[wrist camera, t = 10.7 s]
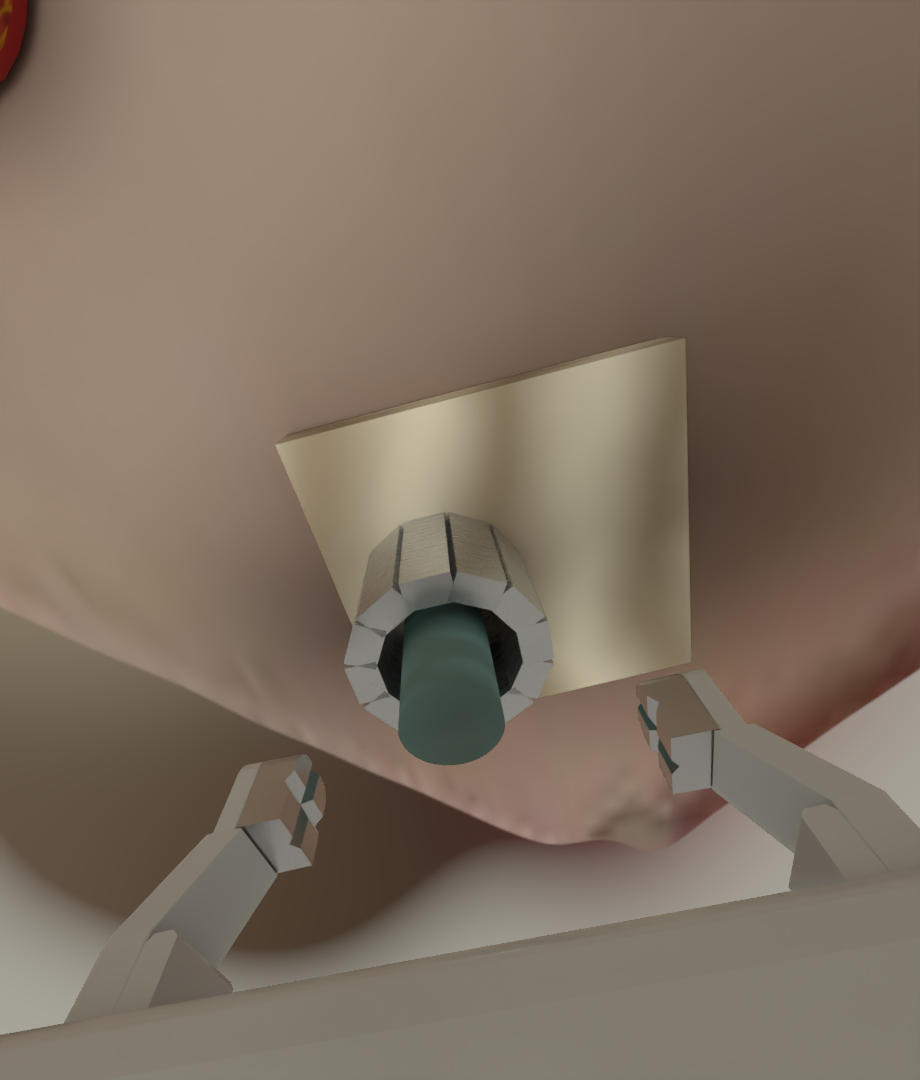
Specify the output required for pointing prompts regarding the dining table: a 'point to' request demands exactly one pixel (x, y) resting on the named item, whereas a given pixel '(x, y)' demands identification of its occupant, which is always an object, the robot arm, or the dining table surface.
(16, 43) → the canned food
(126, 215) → the dining table surface
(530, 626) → the grey segmented ring
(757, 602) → the dining table surface
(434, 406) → the green peg on board
